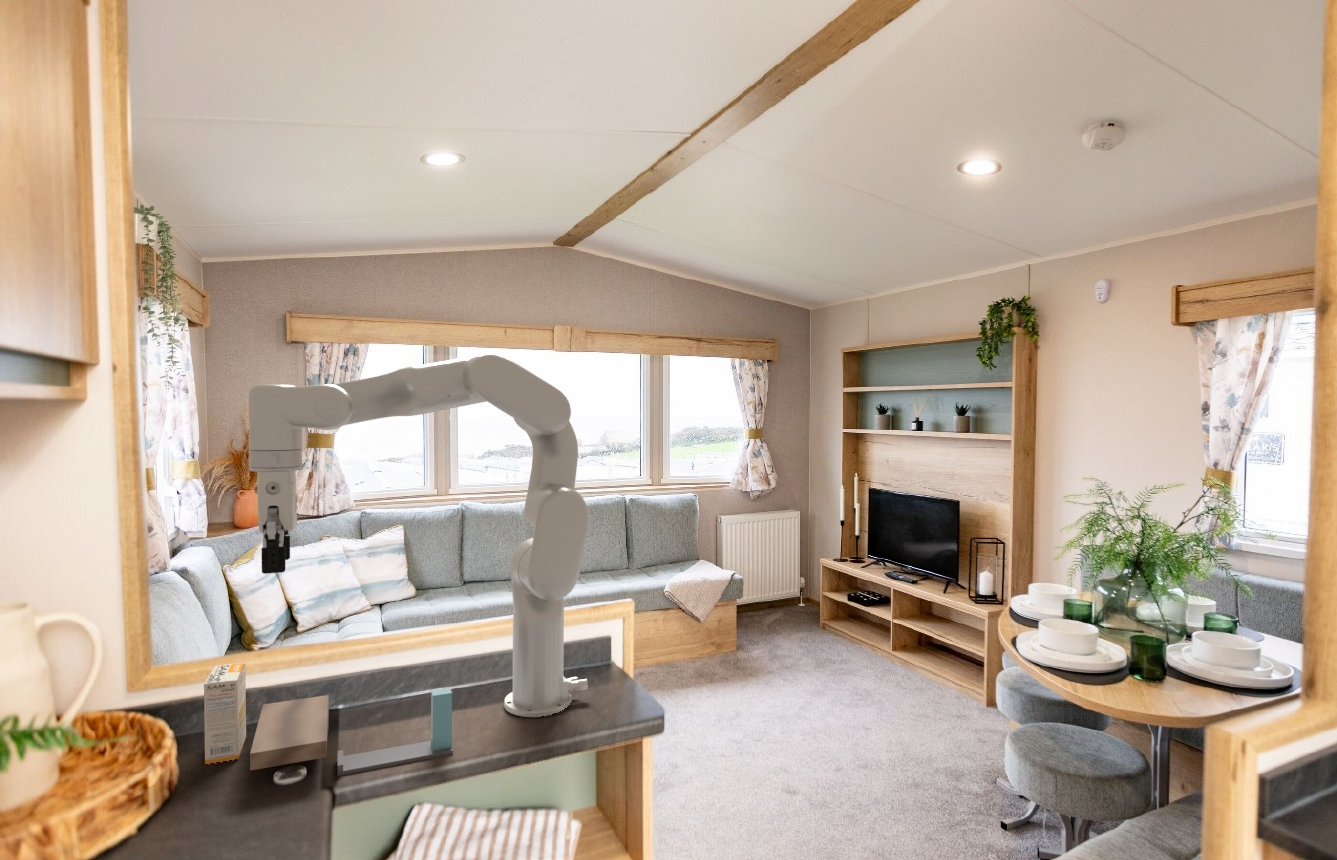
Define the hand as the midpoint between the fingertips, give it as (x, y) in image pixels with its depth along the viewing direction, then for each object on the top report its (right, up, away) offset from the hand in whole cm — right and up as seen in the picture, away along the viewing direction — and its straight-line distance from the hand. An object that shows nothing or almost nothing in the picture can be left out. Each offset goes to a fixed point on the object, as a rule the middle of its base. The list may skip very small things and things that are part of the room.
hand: (276, 566), depth 114 cm
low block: (+3, -30, -1) cm, 31 cm away
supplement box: (-8, -30, 0) cm, 32 cm away
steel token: (+6, -31, -7) cm, 32 cm away
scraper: (+19, -31, -1) cm, 36 cm away
